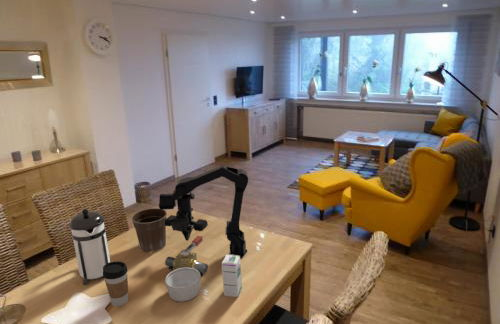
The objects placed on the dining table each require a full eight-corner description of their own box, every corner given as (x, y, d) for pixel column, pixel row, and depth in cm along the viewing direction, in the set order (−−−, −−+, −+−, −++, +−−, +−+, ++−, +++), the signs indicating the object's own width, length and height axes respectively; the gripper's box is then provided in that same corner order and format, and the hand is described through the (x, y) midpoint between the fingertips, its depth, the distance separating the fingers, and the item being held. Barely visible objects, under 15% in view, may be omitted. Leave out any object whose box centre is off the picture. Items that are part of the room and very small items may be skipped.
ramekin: (182, 278, 143) (181, 263, 141) (208, 288, 137) (207, 272, 135) (159, 297, 132) (157, 281, 130) (186, 308, 126) (185, 292, 124)
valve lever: (186, 257, 144) (186, 253, 144) (180, 256, 145) (179, 252, 145) (203, 240, 158) (203, 236, 157) (197, 239, 159) (196, 235, 158)
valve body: (209, 270, 148) (208, 255, 146) (202, 278, 143) (201, 263, 141) (172, 262, 154) (170, 248, 152) (164, 270, 149) (162, 256, 147)
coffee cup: (111, 294, 134) (106, 260, 130) (134, 292, 135) (129, 258, 131) (104, 309, 126) (98, 273, 122) (128, 307, 127) (123, 272, 123)
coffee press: (124, 266, 152) (114, 202, 144) (98, 288, 138) (86, 219, 129) (91, 260, 158) (80, 198, 149) (63, 281, 143) (49, 214, 134)
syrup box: (238, 297, 131) (237, 263, 127) (223, 295, 132) (221, 262, 128) (241, 288, 136) (240, 255, 132) (227, 286, 137) (225, 253, 133)
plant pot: (127, 251, 164) (123, 219, 160) (149, 235, 179) (145, 206, 174) (156, 257, 159) (152, 225, 154) (176, 240, 173) (173, 210, 168)
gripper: (155, 213, 148) (159, 245, 152) (194, 218, 142) (197, 252, 146) (169, 202, 158) (173, 233, 162) (207, 207, 152) (209, 239, 156)
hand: (187, 240), depth 157 cm, fingers closed
